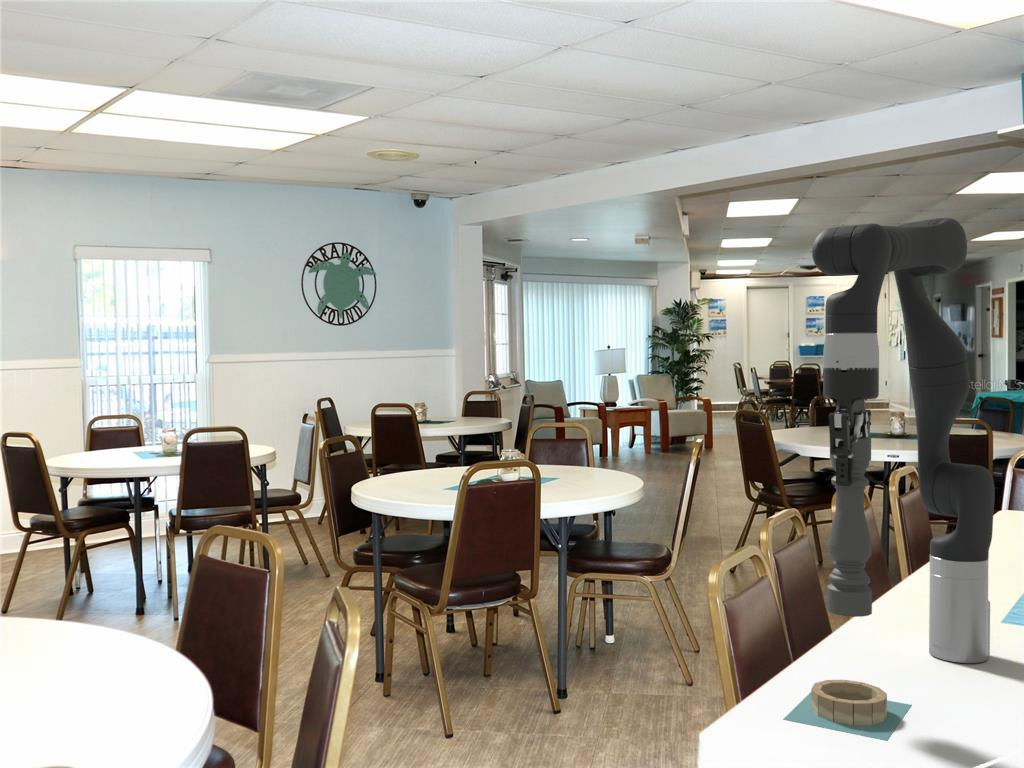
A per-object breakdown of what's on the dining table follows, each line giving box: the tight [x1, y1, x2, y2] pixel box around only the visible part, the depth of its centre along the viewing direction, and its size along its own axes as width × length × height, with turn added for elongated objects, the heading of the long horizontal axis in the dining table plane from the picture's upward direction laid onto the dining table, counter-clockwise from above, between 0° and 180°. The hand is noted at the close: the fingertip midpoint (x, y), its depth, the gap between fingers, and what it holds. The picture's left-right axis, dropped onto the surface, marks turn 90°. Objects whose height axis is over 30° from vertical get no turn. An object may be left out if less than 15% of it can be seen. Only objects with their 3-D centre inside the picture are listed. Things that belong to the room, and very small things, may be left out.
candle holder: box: [826, 437, 873, 618], centre depth 138 cm, size 6×6×25 cm
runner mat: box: [782, 691, 913, 742], centre depth 139 cm, size 16×14×1 cm
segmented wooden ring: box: [810, 679, 888, 725], centre depth 139 cm, size 10×10×3 cm
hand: (850, 482), depth 138 cm, fingers closed on candle holder, 5 cm apart
